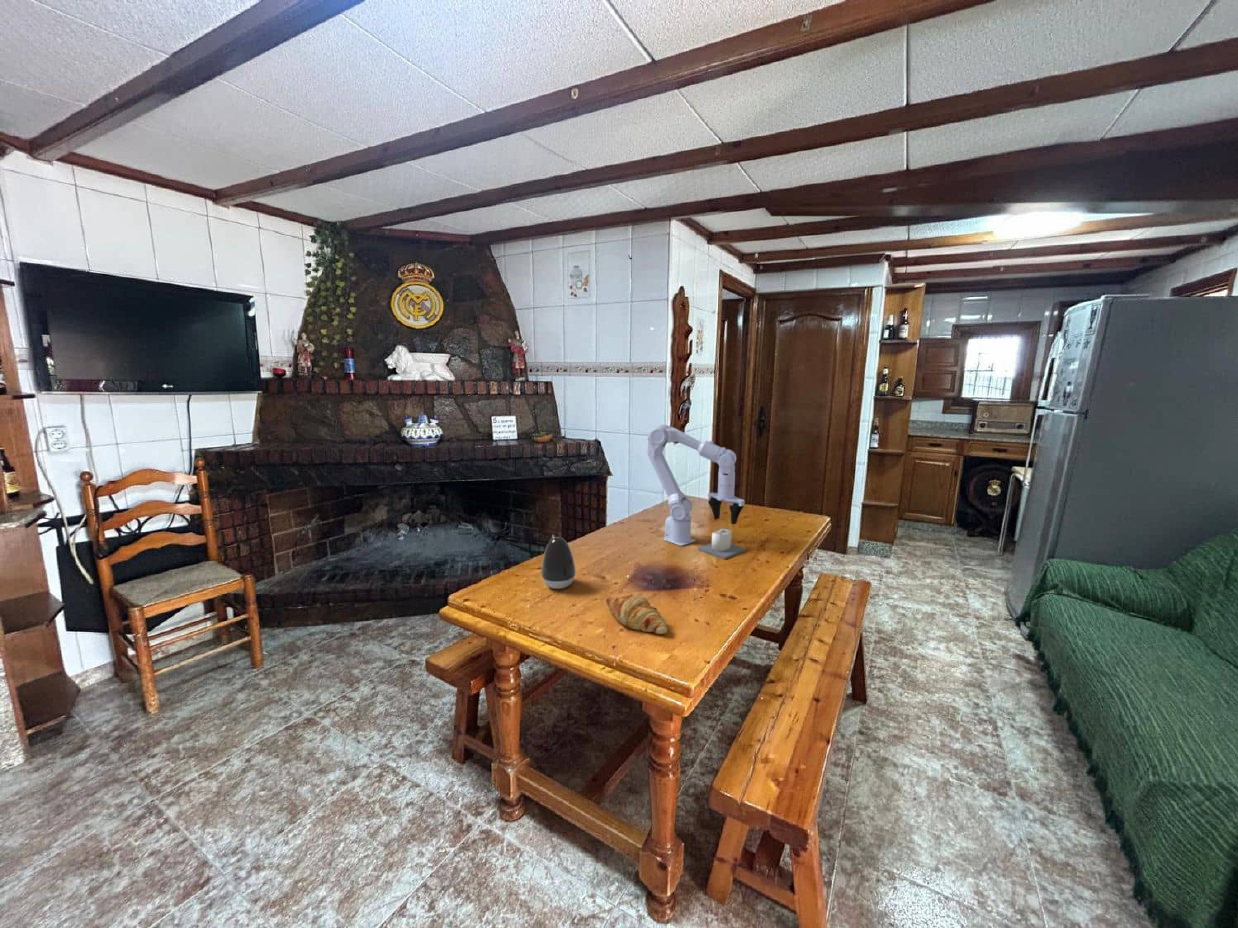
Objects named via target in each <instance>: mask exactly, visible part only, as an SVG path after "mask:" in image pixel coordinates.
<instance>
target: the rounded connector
mask: <svg viewBox="0 0 1238 928" xmlns="http://www.w3.org/2000/svg"><path fill="white" fill-rule="evenodd" d="M711 543H712V551H714V552H721V551H724V550H726V549H729V548H731V544H732V530H731V529H728V528H720V529H718V530H717V531H713V532H712V533H711Z"/></svg>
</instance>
